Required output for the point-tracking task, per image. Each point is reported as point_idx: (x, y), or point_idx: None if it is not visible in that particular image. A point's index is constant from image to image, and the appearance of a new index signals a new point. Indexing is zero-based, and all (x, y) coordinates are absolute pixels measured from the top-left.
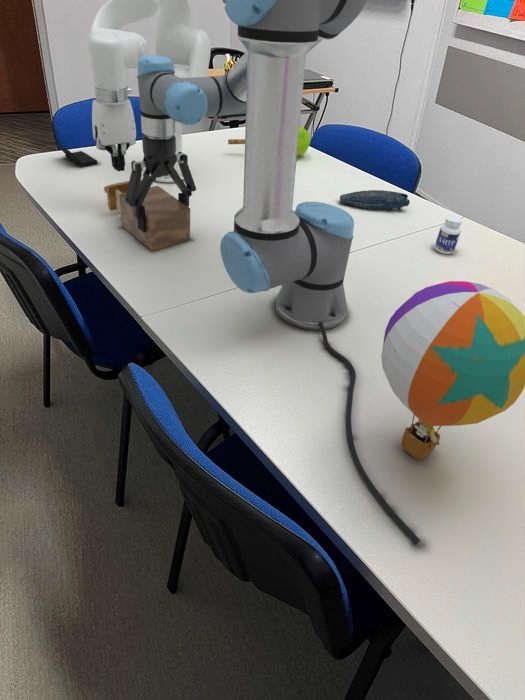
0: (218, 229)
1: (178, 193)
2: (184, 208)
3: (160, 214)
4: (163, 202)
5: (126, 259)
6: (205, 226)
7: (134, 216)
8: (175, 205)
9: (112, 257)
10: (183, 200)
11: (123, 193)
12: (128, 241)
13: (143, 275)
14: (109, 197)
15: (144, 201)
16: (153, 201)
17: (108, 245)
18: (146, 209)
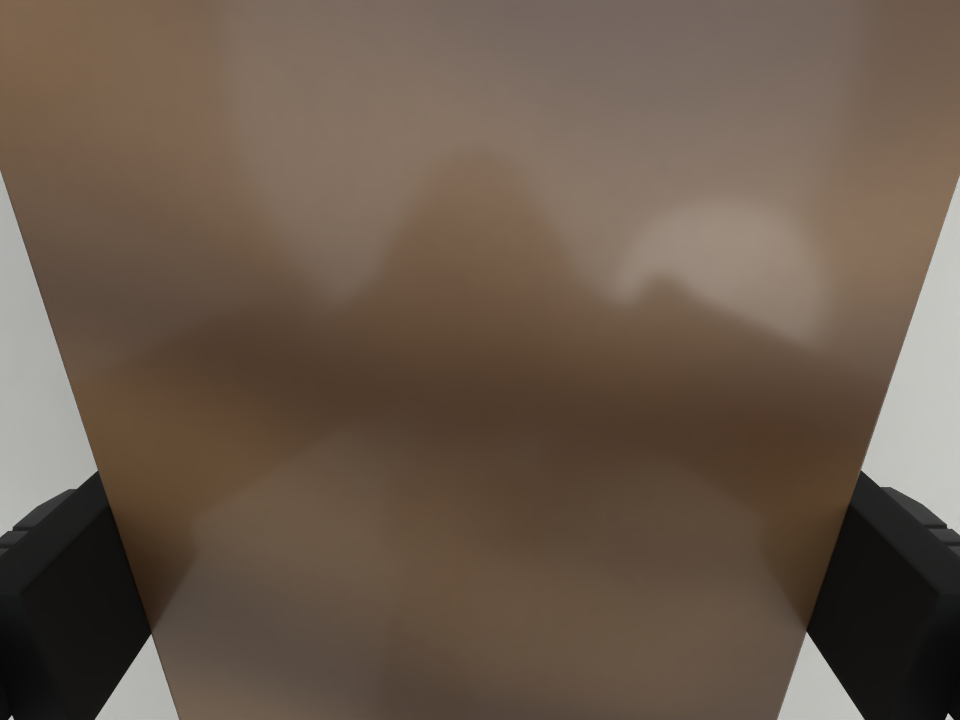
0: (953, 435)
1: (935, 601)
2: (711, 707)
3: (341, 707)
4: (585, 473)
5: (96, 467)
6: (925, 340)
7: (48, 507)
8: (673, 613)
9: (4, 396)
10: (841, 660)
11: None
12: None
13: (140, 655)
14: None
15: (304, 296)
16: (458, 369)
17: (11, 204)
18: (217, 546)
